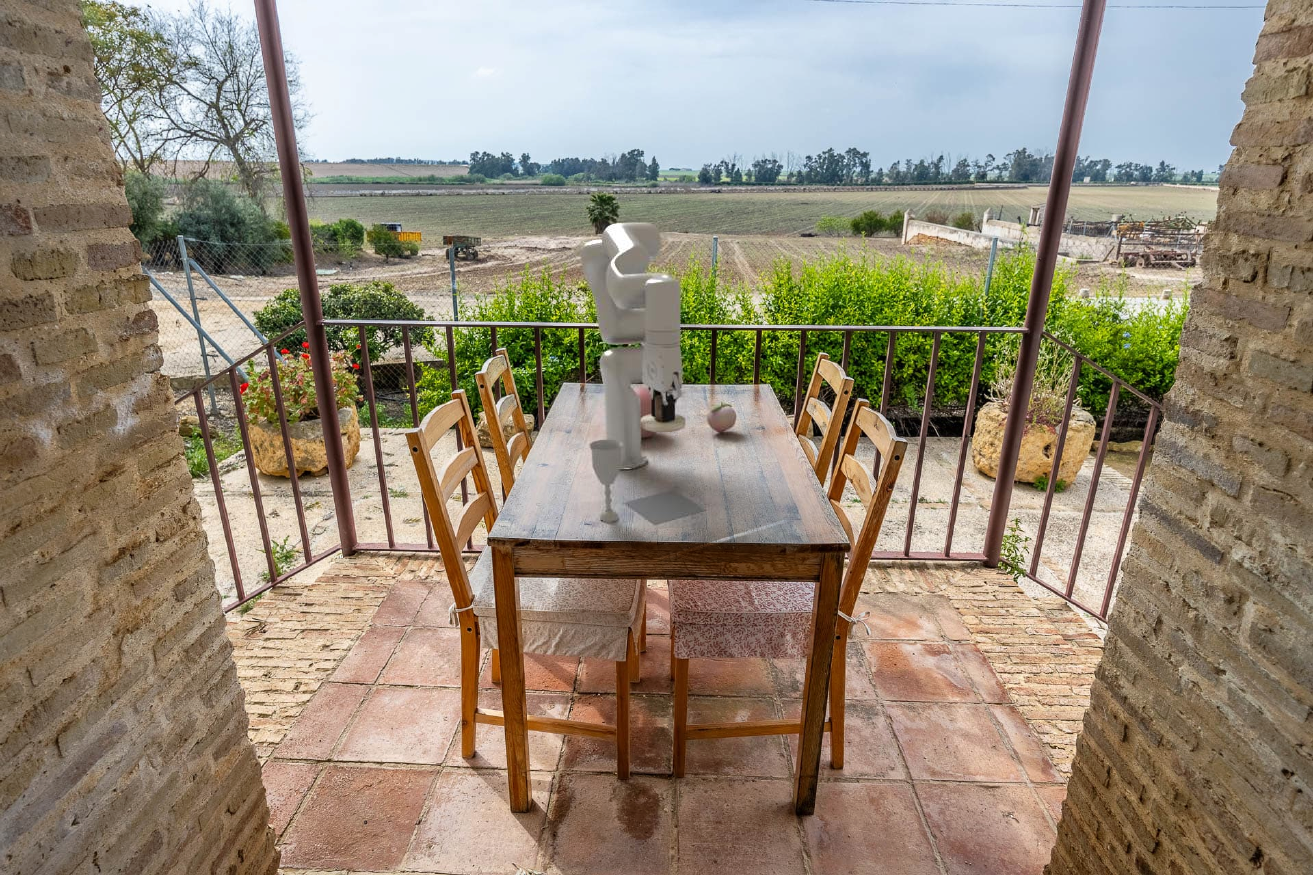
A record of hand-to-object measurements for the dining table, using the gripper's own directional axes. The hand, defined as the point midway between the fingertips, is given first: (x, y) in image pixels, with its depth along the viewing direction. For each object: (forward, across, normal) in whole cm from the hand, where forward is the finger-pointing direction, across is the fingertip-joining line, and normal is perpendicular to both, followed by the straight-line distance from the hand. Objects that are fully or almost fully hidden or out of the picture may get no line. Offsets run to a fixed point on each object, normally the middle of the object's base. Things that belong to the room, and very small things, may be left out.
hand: (663, 417), depth 156 cm
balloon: (+23, -49, +23) cm, 59 cm away
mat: (+22, +1, 0) cm, 22 cm away
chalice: (+22, -1, -14) cm, 26 cm away
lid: (+2, 0, 0) cm, 2 cm away
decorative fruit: (+23, -36, +44) cm, 61 cm away
